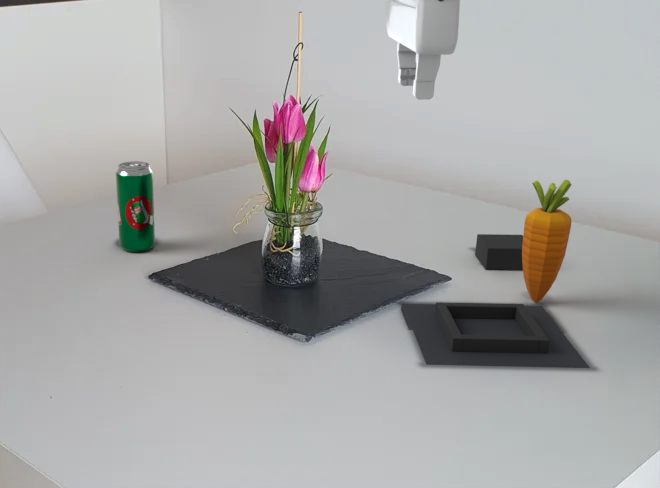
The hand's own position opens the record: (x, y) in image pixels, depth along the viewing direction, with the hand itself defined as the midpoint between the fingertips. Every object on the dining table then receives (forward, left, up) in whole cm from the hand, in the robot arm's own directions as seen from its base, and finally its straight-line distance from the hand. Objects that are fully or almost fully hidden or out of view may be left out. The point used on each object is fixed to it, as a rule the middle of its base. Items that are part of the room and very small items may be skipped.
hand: (414, 91), depth 87 cm
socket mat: (-9, +7, -25) cm, 27 cm away
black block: (-17, -18, -25) cm, 35 cm away
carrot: (-17, -4, -25) cm, 31 cm away
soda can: (+33, -22, -25) cm, 47 cm away
